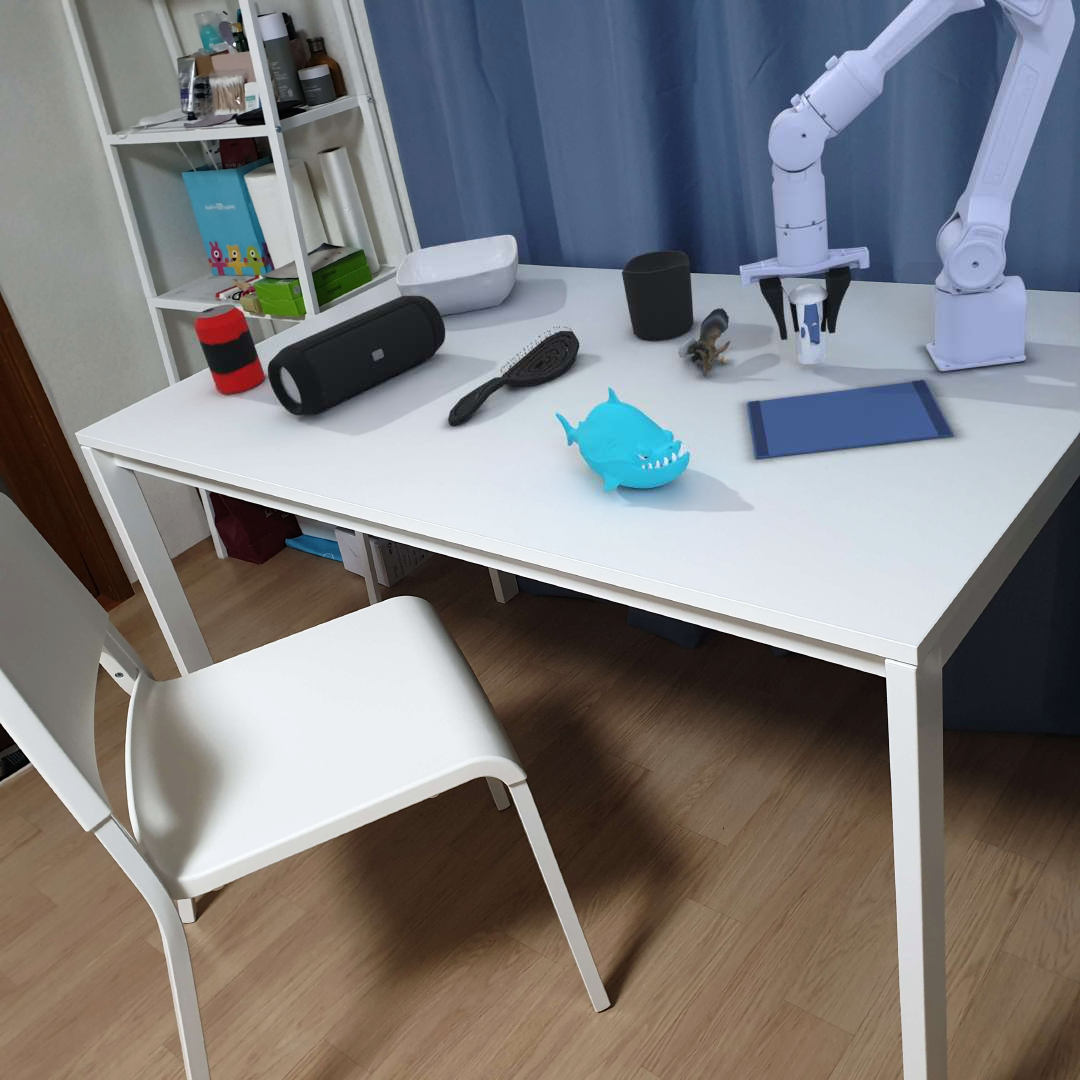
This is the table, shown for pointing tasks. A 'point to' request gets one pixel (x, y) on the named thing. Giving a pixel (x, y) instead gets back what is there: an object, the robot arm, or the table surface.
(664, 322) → the pen holder
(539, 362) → the hairbrush
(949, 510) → the table surface
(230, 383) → the soda can
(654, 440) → the toy shark
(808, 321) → the milkshake
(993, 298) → the robot arm
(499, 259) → the bowl
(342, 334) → the portable speaker
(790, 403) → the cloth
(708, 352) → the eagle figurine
